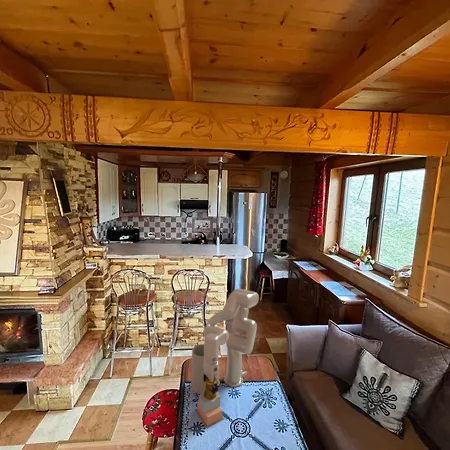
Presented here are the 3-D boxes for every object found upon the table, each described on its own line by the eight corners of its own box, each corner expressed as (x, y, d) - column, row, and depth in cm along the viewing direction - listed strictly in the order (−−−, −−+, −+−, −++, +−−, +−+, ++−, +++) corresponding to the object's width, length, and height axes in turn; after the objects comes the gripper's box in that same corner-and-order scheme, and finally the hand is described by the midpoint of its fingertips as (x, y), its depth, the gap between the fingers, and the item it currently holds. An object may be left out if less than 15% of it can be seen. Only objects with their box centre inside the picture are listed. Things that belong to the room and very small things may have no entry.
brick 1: (214, 398, 151) (214, 389, 150) (220, 406, 146) (220, 396, 145) (198, 405, 146) (199, 395, 145) (203, 413, 141) (204, 403, 140)
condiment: (214, 402, 141) (214, 381, 140) (199, 397, 144) (200, 377, 142) (219, 392, 148) (219, 372, 147) (204, 388, 151) (205, 368, 149)
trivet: (211, 402, 156) (211, 401, 156) (224, 420, 144) (224, 419, 144) (194, 410, 150) (194, 409, 150) (206, 429, 138) (206, 428, 138)
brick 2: (197, 409, 149) (197, 401, 149) (211, 403, 154) (211, 395, 154) (207, 426, 139) (207, 417, 139) (222, 418, 144) (222, 410, 144)
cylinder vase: (187, 391, 164) (188, 353, 161) (197, 377, 176) (197, 342, 172) (206, 397, 160) (207, 358, 156) (214, 383, 171) (215, 347, 168)
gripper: (225, 364, 137) (224, 394, 140) (209, 346, 152) (208, 374, 154) (213, 369, 133) (212, 400, 136) (197, 351, 148) (197, 379, 150)
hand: (210, 386), depth 145 cm, fingers open, 9 cm apart
